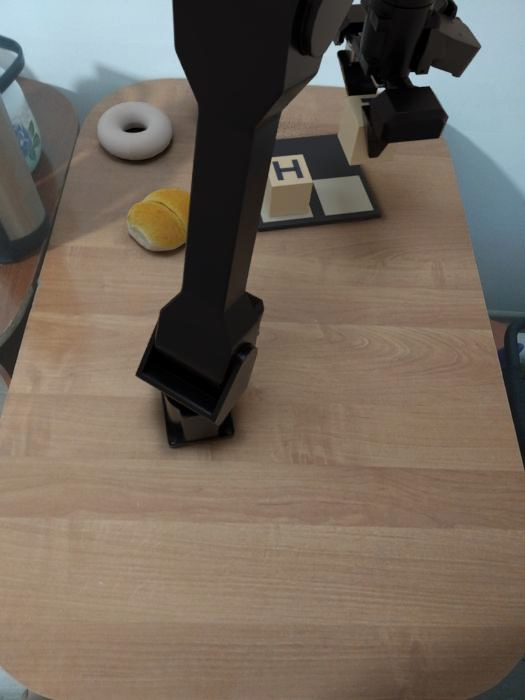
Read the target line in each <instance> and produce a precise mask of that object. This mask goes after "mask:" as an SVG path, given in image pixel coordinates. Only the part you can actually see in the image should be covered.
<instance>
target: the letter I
mask: <svg viewBox="0 0 525 700" xmlns="http://www.w3.org/2000/svg"><path fill="white" fill-rule="evenodd" d="M379 94H380V93H376V94H370V95H358V96H347V95H346V96H345V97H344V102H343V105H342V111H341V116H340V121H339V127H338V130H337V131H338V132H337V134H338V138H339V141H340V143H341V145H342V148H343V150H344V153H345V155H346V157H347V160H348V162H349V165H369V164H379V163H388V162H393V161H394V159H395V154H396V151H397V148H398V145H399V142H398V143H389V144H388V145H387V147H386V148H385V149H384V150H383V152H382V153H381V154H380V156H379V157H377V158H369V157H368V153H367V147H366V140H365V132H364V124H363V117H362V110H361V106H362V105H372V101H373V99H374V98H375V97H376V96H378V95H379Z"/></svg>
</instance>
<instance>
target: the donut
mask: <svg viewBox="0 0 525 700" xmlns="http://www.w3.org/2000/svg"><path fill="white" fill-rule="evenodd" d="M96 126H97V128H96V129H97V130H96V131H97V134H96V135H97V138H98V141H99V142H100V144H101V146H102V147H103V148H104V149H105V150H106V151H107V152H108V153H110V155H113V156H115V157H117V158H119V159H123V160H129V161H142V160H147V159H150V158H153V157H155V156H158V155H159V154H161V153H163V151H164V150H165V149H166V148H167V147H168V146H169V145H170V143H171V141H172V138H173V124H172V121H171V120H170V118H169V116H168V115H167V113H166V112H165V111H164V110H162V109H160V107H158V106H156V105H154V104H151V103H149V102H144V101H126V102H122V103H117V104H116V105H113V106H111V107H109V108H108V109H107V110H106V111H105V112H104V113H103V114H101V116H100V118H99V120H98V123H97V125H96ZM130 129H144V130H143V131H140V132H139V131H138V132H127V131H128V130H130Z"/></svg>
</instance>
